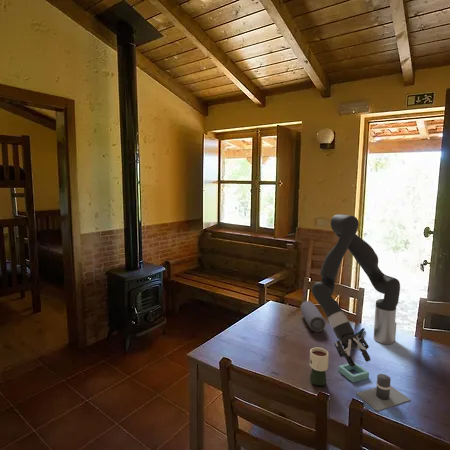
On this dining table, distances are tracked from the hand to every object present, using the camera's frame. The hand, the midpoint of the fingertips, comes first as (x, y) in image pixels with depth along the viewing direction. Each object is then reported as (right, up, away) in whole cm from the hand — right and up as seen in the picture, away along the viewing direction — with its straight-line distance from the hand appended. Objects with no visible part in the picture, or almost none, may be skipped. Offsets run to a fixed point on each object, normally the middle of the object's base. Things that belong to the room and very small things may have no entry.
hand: (361, 363), depth 127 cm
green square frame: (-1, -7, +5) cm, 9 cm away
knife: (+12, -4, +34) cm, 36 cm away
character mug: (-17, -8, 0) cm, 19 cm away
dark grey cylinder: (+5, -9, -8) cm, 13 cm away
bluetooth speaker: (-5, -1, +53) cm, 53 cm away
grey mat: (+5, -9, -8) cm, 13 cm away
